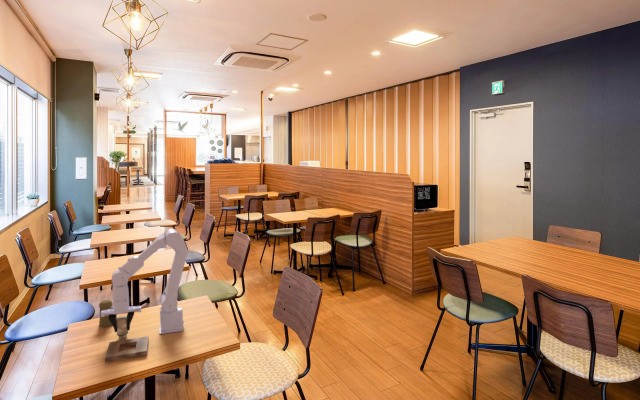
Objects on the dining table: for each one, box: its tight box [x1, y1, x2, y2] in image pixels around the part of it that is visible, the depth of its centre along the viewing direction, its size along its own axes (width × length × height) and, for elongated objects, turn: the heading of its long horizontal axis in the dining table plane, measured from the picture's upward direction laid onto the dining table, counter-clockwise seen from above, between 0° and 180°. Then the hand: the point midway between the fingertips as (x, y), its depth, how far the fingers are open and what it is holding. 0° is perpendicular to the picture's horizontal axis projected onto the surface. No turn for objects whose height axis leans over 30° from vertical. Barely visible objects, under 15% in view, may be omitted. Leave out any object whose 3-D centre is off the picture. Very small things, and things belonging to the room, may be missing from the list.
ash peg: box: [116, 314, 129, 341], centre depth 153 cm, size 4×4×9 cm
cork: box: [98, 299, 113, 329], centre depth 165 cm, size 6×6×11 cm
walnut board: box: [104, 335, 149, 364], centre depth 144 cm, size 14×12×2 cm
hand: (122, 330), depth 153 cm, fingers closed on ash peg, 4 cm apart
